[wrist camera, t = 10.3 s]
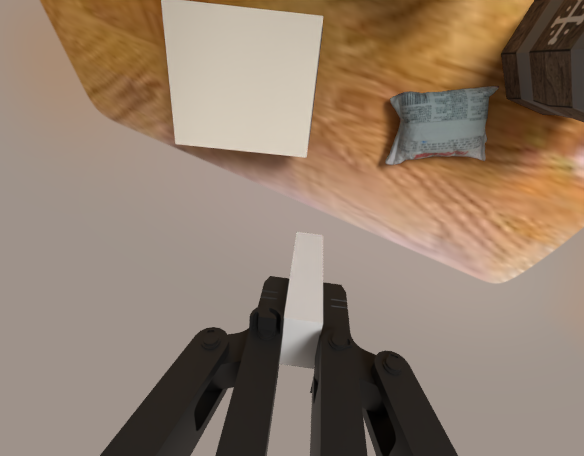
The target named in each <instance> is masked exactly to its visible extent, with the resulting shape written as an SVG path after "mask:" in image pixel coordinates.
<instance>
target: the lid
mask: <svg viewBox="0 0 584 456" xmlns="http://www.w3.org/2000/svg"><path fill="white" fill-rule="evenodd" d="M161 4H162V14H163V24H164V34H165V44H166V54H167V64H168V74H169V84H170V94H171V104H172V114H173V124H174V134H175V144H180V145H189V146H199V147H209V148H218V149H228V150H238V151H247V152H257V153H267V154H276V155H286V156H296V157H305V158H306V157H307V148H308V140H309V132H310V123H311V115H312V107H313V98H314V90H315V82H316V73H317V65H318V57H319V48H320V40H321V32H322V24H323V16H320V15H311V14H302V13H293V12H284V11H275V10H266V9H257V8H248V7H239V6H230V5H221V4H212V3H203V2H194V1H185V0H161Z"/></svg>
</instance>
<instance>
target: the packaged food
mask: <svg viewBox="0 0 584 456" xmlns="http://www.w3.org/2000/svg"><path fill="white" fill-rule="evenodd" d="M498 88H499V86H491V87H481V88H468V89H460V90H450V91H443V92H427V93H419V92H418V93H417V92H403V93H401V94H398V95H396V96H393V97H392V98H390V101H391V104H392V106H393V107H394V108H395V110H396V112H397V114H398V115H399V118H400V126H399V130H398V132H397V135H396V137H395V140H394V143H393V146H392V148H391V151H390V154H389V155H388V156H387V159H386V162H385V163H386V164H389V165H394V164H399V163H401V162H403V161H405V160H410V159H421V158H426V157H431V156H446V157H450V156H467V157H473V158H477V159H480V160H483V161H485V145H484V144H485V142H486V141H487V136H486V133H485V124H486V120H487V116H488V103H489V96H491V95H492V94H494V93H495V91H496V90H498ZM482 147H483V148H482Z"/></svg>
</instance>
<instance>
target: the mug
mask: <svg viewBox="0 0 584 456" xmlns="http://www.w3.org/2000/svg"><path fill="white" fill-rule="evenodd" d="M501 57H502V65H503V73H504V81H505V89H506V97H507V99H508V100H511V101H513V102H515V103H518V104H520V105H522V106H525V107H527V108H529V109H531V110H534V111H536V112H538V113H541V114H543V115H560V116H564V117H569V118H573V119H576V120H579V121H582V122H584V0H534V2H533V4H532V5H531V7H530V8H529V10H528V12H527V13H526V15H525V16H524V18H523V20H522V21H521V23H520V24H519V26H518V28H517V29H516V31H515V32H514V34H513V36H512V37H511V39H510V40H509V42H508V44H507V45H506V47H505V48H504V50H503V52H502V53H501Z"/></svg>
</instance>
